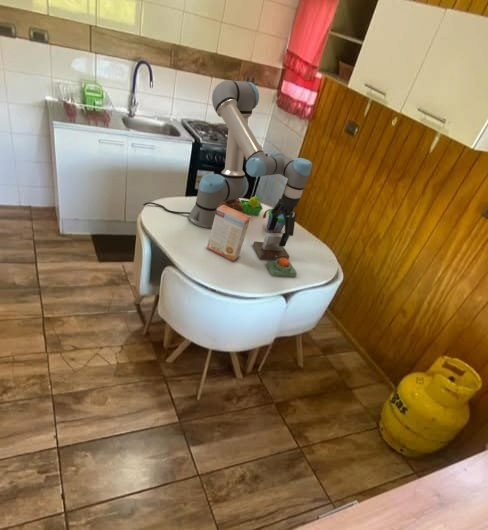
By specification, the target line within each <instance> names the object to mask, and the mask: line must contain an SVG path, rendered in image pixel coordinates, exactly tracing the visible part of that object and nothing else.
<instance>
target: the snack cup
mask: <svg viewBox="0 0 488 530" xmlns="http://www.w3.org/2000/svg"><path fill="white" fill-rule="evenodd" d="M272 210H273V208H269V209H267V210H265V211H264V213H263V215H262V219H266V218H267V213H268V218H267V224H266V230H267V231H268V232H269V233H276V234H281V232H282V231H283V229H284V228H285V219H284V216H283V214H281V215H279V216H278V217H276V218H278V221H277V223H276V226H275V229H274V230H268V228H269V226H270V223H271V220H272V214H271V211H272ZM288 217H289V216H288Z"/></svg>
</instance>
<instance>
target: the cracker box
mask: <svg viewBox="0 0 488 530" xmlns="http://www.w3.org/2000/svg"><path fill="white" fill-rule="evenodd" d="M251 218H252V217H251V215H249V214H243V213H241V212H239V211H237V210H234V209H232V208H230V207H228V206H226V205H222V206H220V207H218V208H217V210H216V214H215V218H214V222H213V226H212V228H211V229H210V234H209V238H208V242H207V246H206V248H207V249H208V250H210V251H212V252H214V253H215V254H218V255H219V256H222V257H224V258H225V259H228V260H229V261H231V262H234V261H235V260H236V259H238V258H239V257H240V254H241V251H242V247H243V244H244V241H245V238H246V234H247V231H248V228H249V225H250V222H251Z"/></svg>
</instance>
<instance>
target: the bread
mask: <svg viewBox="0 0 488 530" xmlns="http://www.w3.org/2000/svg"><path fill="white" fill-rule="evenodd" d="M222 205H226V206H228V207H230V208H232V209H234V210H237V211H239V212H241V213H242V209H243V206H242V203H241V199H240V198H239V199H236V200H228V201H222V202H220V204H219V207H220V206H222Z"/></svg>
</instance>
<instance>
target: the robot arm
mask: <svg viewBox="0 0 488 530" xmlns="http://www.w3.org/2000/svg"><path fill="white" fill-rule="evenodd" d="M259 101H260V91H259V89H258V88H257V86H256V85H255V84H254V83H253V82H250V81H245V80H230V79H229V80H228V79H227V80H223V81H220V82H219V83H218V84H216V86H215V87H214V89H213V91H212V94H211V102H212V106H213V109H214V111H215V114H216V115H217V116H218V117H220V118H221V119H222V121H223V122H224V123H225V125H226V128H227V129H228V132H227V139H226V141H227V142H226V153H225V162H224V163H225V164H224V169H223V170H222V171H221V172H220V173H221V174H218V173H206V174H203V176H202V177H201V179H200V182H199V184H198V190H197V195H196V199H195V204H194V206H193V207H192V209H191V210H190V212H189V211H175V210H170V209H168V208H166V207H165V206H164V205H162V204H159V203H157V202H151V201H149V202H144V203H143V204H142V205H143V206H146V205H154V206H158V207H161V208H162V209H164V210H165V211H166V212H168V213H172V214H180V215H182V214H183V215H184V214H185V215H188V219H189V221H190V222H191V223H192V224H193V225H195V226H197V227H200V228H204V229H212V226H213V222H214V218H215V214H216V210H217V208H218V207H219V204H220V202H222V201H228V200H236V199H239V200H240V199H242V198H243V197H245V195H247V193H248V189H249V181H248V178H247V177H246V174H245V173H247V174H248V176H250V177H252V178H260V177H265V176H273V175H275V176H276V175H281V177H284V178H286V179H287V181H286V183H285V186H284V189H283V191H282V192H283V193H282V195H281V198H279V199H278V201H277V203H276V204H275V205H274V207H273V208H272V209H273V210H272V211H271V214H272V220H271V223H270V226H269V228H268V230H267V231H269V230H274V229H275V226H276V223H277V221H278V218H276V217H278V216H279V215H281V214H283V216H284V219H285V225H284V232H283V233H282V234H283V235H282V238H281V241H280V243H279V246H283V247H284V248H285V247H286V245H287V242H288V240H289V237H290V236H291V237H292V236H294V232H295V224H296V217H297V212H294V209H295V208H297V207H298V206H299V203H300V200H301V197H302V195H303V192H304V189H305V186H306V184H307V182H308V179H309V177H310V176H311V171H312V168H313V163H312V162H311V160H308V159H306V158H302V157H296V158H295V159H293V158H290V157H289V156H287V155H285V154H283V153H281V152H278V151H275V152H273V153H271V154H270V155H269V156H267V155H266V153H265V152H264V150H263V149H262V147H261V144H260V143H259V142H258V140H257V138H256V137H255V135H254V133H253V132H252V129H251V128H250V126H249V125H248V123H249V118H250V117H251V116H253V110H255V108H256V107H257V105H258V104H259ZM244 158H245V159H244ZM244 160H246V164H245V171H246V172H244V170H243V167H244V166H243V165H244ZM288 216H289V217H288ZM132 259H135V252H132Z"/></svg>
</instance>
